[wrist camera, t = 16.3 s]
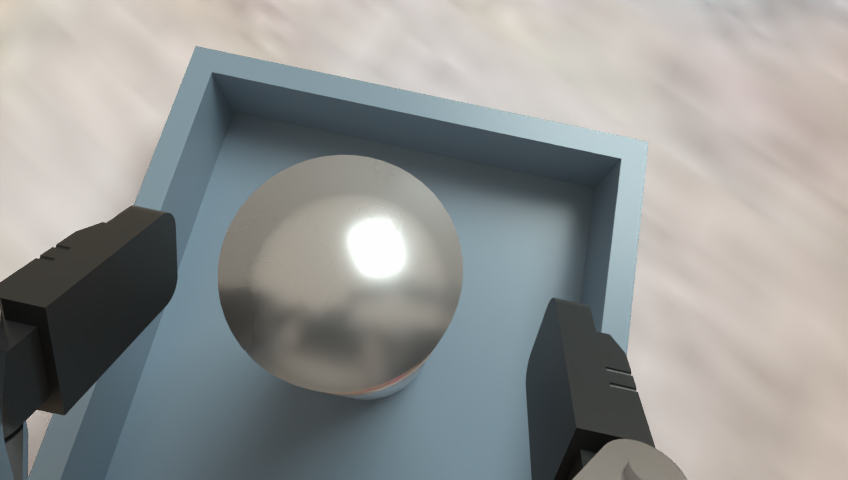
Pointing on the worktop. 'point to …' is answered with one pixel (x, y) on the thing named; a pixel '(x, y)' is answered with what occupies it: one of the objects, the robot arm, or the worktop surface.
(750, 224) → the worktop surface
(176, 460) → the parts tray
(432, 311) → the pin
